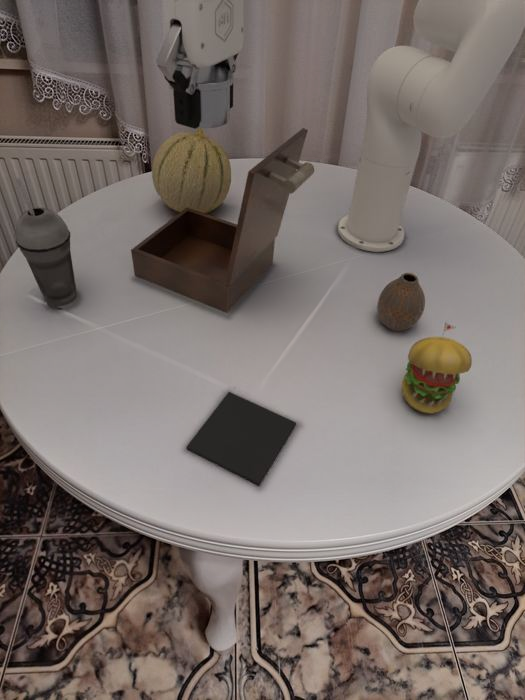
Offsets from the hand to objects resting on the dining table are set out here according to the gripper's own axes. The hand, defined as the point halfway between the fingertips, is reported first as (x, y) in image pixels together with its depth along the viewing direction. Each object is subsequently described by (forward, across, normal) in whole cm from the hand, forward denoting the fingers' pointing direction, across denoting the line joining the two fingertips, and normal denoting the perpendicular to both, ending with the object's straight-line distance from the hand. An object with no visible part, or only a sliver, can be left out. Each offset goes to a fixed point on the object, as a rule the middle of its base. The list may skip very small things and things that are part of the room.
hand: (205, 114), depth 64 cm
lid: (+12, +3, -7) cm, 15 cm away
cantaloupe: (+28, +19, +16) cm, 37 cm away
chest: (+28, +3, +3) cm, 28 cm away
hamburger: (+28, -4, -37) cm, 47 cm away
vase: (+28, +9, -29) cm, 41 cm away
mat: (+28, -22, -20) cm, 41 cm away
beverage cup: (+28, -15, +18) cm, 36 cm away
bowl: (+1, 0, 0) cm, 1 cm away
